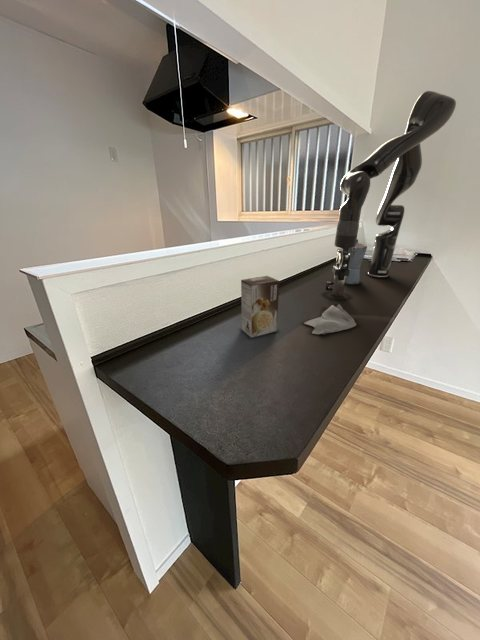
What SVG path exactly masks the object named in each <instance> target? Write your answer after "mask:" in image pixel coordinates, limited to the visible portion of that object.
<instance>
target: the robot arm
mask: <svg viewBox="0 0 480 640" xmlns="http://www.w3.org/2000/svg"><path fill="white" fill-rule="evenodd" d="M456 106H457V101H456V99H455V98H454V97H451V96H449V95H446V94H443V93H440V92H436V91H434V90H427V91H426V90H425V91H424V92H423V93H421V94H420V95H419V96H418V98H417V99H416V101H415V102H414V104H413V106H412V109H411V111H410V114H409V117H408V120H407V124H406V128H405V132H404V134H401V135H399V136H396V137H393V138H391V139H389V140H387V141H386V142H384V143H383V144H381V145H379V147H378V148H376V149H375V150H374V151H373V153H371V154H370V155H369V156H368V157H367V158H366V159H365V160H363V161H362V162H360V163H359V164H357V165H356V166H355V167H353V168H352V169H350V170H349V171H348V172H347V173H346V174H345V175H344V176H343V178H342V179H341V181H340V185H339V188H340V191H341V193H343V194H344V195H346V196H347V199H346V201H345V202H344V203H342V204H341V206H340V209H339V215H338V216H339V217H338V221H337V226H336V231H335V238H334V247H336V248H337V250H336V260H335V266H339V275H338V280H344V277H345V271H346V270H348V266H349V261H350V257H351V255H350V252H349V248H353V247H355V246H356V241H357V239H358V234H359V228H360V218H361V215H362V214H361V213H362V208H363V206H364V204H365V201H366V198H367V197H368V194H369V192H370V189H371V179H373V178H377V177H378V176H380V175H382V174H383V173H384V172H385V171H386V170H387V169H389V168H390V166H392V164H394V163H395V164H394V167H393V169H392V172H391V175H390V179H389V182H388V185H387V188H386V191H385V193H384V196H383V198H382V200H381V203H380V205H379V207H378V210H377V213H376V215H375V224H376V225H377V226H379V227H390V228H389V229H388V230H385V231H384V232H380V233H377V234H376V235H375V237H374V244H373V248H372V253H371V257H370V259H368V262H369V266H368V271H367V276H369V277H372V278H375V279H376V278H377V279H386V278H388V277H389V272H390V269H391V264H392V260H393V256H394V252H395V248H396V245H397V240H398V237H399V233H400V229H401V226H402V222H403V219H404V216H405V206H404V205H402V204H393V203H394V202H395V201H396V200H397V199H398V198H399V197H400V196H402V195H403V194H404V193H406V191H408V190H409V189H410V188H412V186H413V185H414V184H415V183H416V180H417V178H418V177H419V173H420V171H421V169H422V165H423V156H422V155H423V154H422V147H421V143H422V142H424V141H425V140H427V139H428V138H430V137H431V136H433V135H434V134H435V133H437V132H438V131H440V130H441V129H442V128H443V127H444V126H445V124H447V123H448V122H449V120H450V119H451V118H452V116H453V114H454V112H455V110H456ZM344 265H345V267H343V266H344Z"/></svg>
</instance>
